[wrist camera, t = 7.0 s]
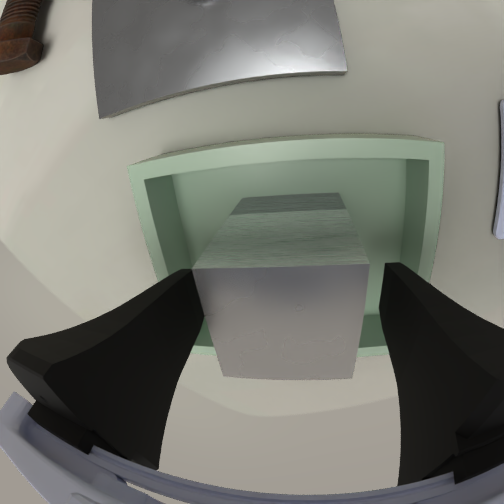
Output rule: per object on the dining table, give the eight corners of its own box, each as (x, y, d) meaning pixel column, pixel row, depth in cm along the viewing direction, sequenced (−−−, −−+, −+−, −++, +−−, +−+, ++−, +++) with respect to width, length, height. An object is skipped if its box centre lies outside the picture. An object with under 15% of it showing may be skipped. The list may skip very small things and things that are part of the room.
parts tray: (414, 135, 10) (444, 142, 7) (396, 315, 15) (408, 352, 12) (160, 154, 13) (126, 166, 10) (201, 318, 17) (184, 352, 15)
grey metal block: (338, 276, 14) (351, 378, 8) (253, 279, 14) (223, 376, 9) (338, 192, 12) (369, 263, 6) (242, 197, 13) (191, 268, 7)
